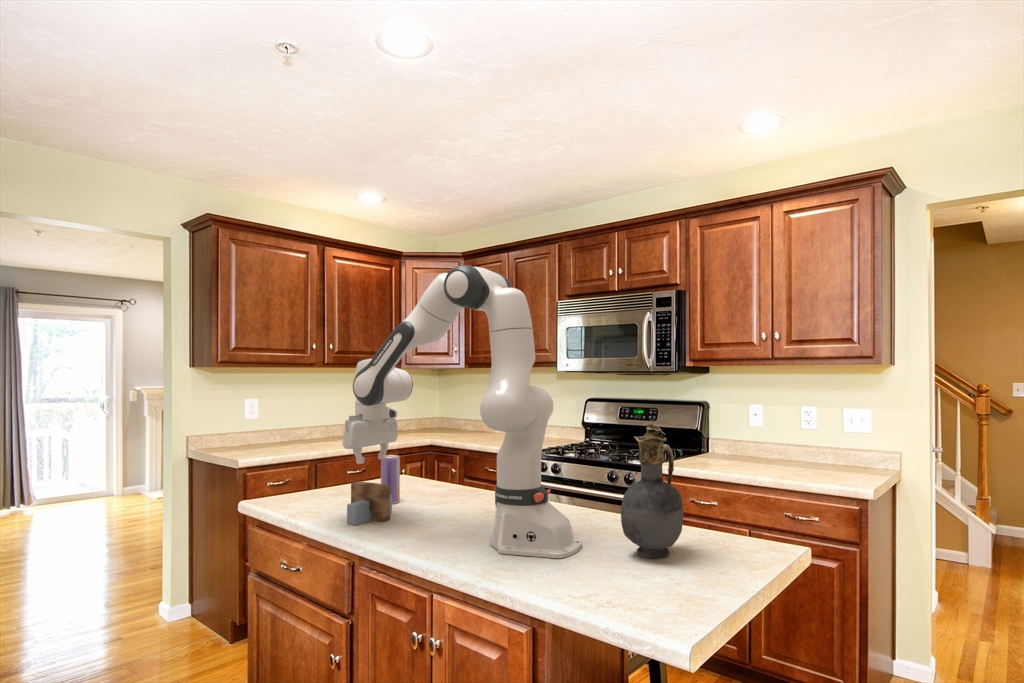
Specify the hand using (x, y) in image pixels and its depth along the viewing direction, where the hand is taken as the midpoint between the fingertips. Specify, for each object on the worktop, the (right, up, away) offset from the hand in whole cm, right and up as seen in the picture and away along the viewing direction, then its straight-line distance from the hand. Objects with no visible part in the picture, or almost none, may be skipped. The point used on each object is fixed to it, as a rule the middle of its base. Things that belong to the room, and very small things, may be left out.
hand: (371, 461), depth 174 cm
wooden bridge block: (0, -17, -1) cm, 17 cm away
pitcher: (+75, -15, -34) cm, 83 cm away
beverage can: (+1, -18, +20) cm, 27 cm away
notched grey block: (0, -17, -1) cm, 17 cm away
